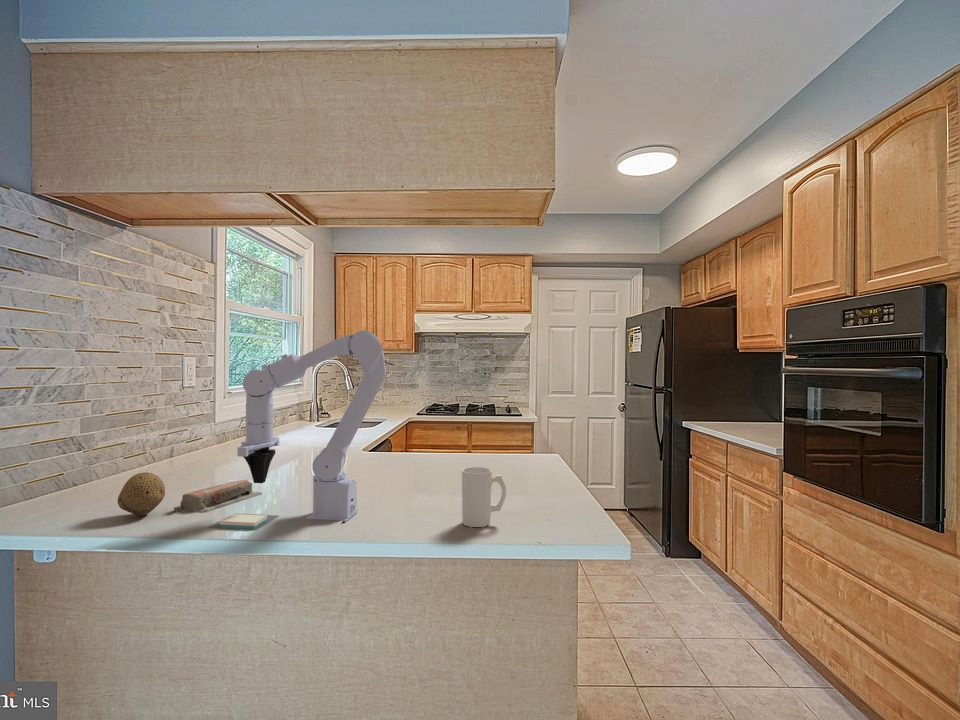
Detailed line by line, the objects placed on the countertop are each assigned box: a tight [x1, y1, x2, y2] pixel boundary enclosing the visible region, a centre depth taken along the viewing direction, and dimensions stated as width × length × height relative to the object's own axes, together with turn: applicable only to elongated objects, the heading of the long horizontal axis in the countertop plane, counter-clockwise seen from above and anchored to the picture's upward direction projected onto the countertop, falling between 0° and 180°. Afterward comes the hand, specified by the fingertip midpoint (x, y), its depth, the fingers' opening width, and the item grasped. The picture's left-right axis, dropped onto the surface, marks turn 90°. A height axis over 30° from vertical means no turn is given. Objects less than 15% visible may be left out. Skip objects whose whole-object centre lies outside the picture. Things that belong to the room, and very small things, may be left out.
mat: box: [207, 513, 280, 531], centre depth 116 cm, size 11×10×1 cm
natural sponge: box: [117, 471, 166, 517], centre depth 121 cm, size 9×9×10 cm
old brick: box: [173, 479, 263, 514], centre depth 132 cm, size 18×5×10 cm
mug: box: [461, 466, 507, 528], centre depth 118 cm, size 10×7×12 cm, turn 92°
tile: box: [218, 513, 267, 530], centre depth 114 cm, size 8×1×5 cm
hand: (259, 482), depth 120 cm, fingers closed
